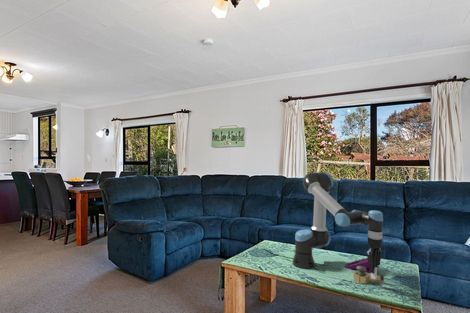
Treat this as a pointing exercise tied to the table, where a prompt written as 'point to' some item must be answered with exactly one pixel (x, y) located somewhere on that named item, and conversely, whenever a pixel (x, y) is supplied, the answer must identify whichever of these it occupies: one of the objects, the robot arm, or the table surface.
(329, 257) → the table surface
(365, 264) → the mounting bracket
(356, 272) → the collar
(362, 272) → the base
